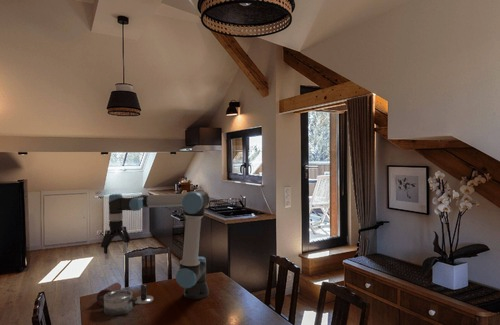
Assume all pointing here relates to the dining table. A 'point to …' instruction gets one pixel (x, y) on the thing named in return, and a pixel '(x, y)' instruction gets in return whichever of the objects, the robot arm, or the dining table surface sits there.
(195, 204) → the robot arm
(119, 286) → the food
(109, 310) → the pot
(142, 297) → the lid
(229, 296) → the dining table surface
